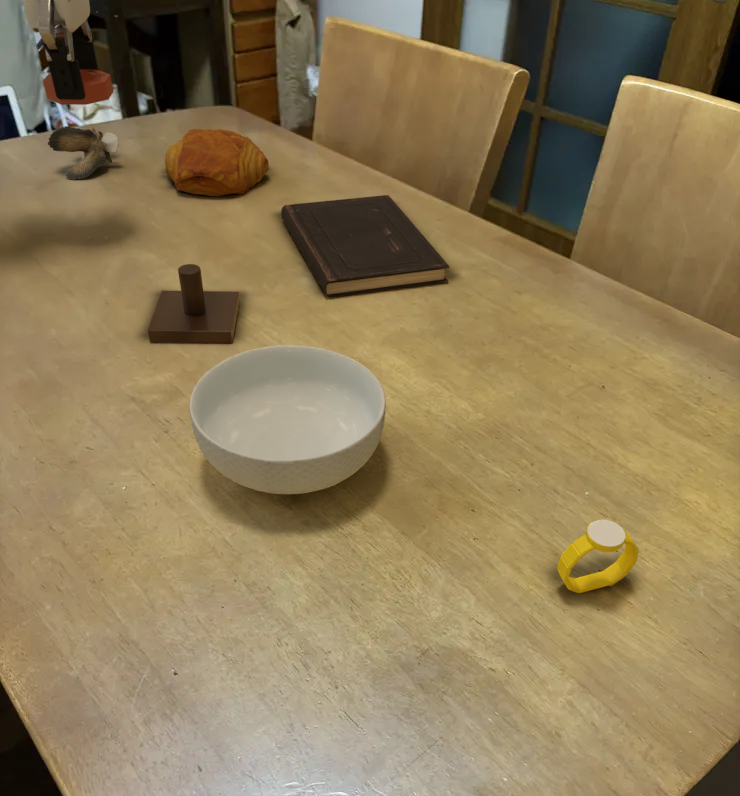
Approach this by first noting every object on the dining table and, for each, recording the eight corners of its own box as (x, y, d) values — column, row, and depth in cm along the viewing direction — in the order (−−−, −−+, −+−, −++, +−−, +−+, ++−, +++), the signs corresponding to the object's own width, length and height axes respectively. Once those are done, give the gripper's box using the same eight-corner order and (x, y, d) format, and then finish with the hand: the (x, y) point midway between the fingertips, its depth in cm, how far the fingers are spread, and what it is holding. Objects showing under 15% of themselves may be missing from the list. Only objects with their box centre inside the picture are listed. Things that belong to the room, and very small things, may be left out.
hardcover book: (387, 210, 110) (388, 194, 109) (447, 282, 95) (449, 265, 93) (281, 221, 106) (280, 205, 105) (325, 298, 91) (324, 281, 89)
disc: (42, 104, 88) (37, 85, 86) (57, 86, 93) (53, 68, 91) (105, 105, 88) (101, 86, 87) (116, 87, 93) (113, 69, 92)
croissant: (189, 174, 124) (176, 121, 119) (279, 170, 120) (269, 116, 115) (153, 205, 113) (137, 149, 108) (250, 202, 110) (238, 144, 105)
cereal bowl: (319, 551, 61) (318, 487, 56) (159, 480, 66) (145, 416, 61) (414, 438, 72) (420, 376, 67) (270, 385, 77) (265, 324, 72)
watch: (615, 564, 61) (635, 512, 56) (632, 590, 59) (654, 538, 55) (547, 578, 59) (562, 525, 55) (562, 605, 57) (580, 552, 53)
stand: (149, 342, 82) (139, 288, 78) (163, 301, 89) (154, 249, 85) (232, 343, 83) (226, 289, 78) (240, 302, 89) (235, 250, 85)
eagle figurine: (84, 147, 122) (40, 153, 115) (99, 111, 117) (54, 114, 111) (116, 183, 122) (74, 190, 115) (132, 148, 118) (89, 153, 111)
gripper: (24, -109, 84) (64, 68, 96) (-27, -90, 71) (27, 111, 83) (93, -107, 84) (124, 69, 96) (54, -89, 72) (96, 111, 84)
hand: (79, 87), depth 90 cm, fingers closed on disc, 7 cm apart
